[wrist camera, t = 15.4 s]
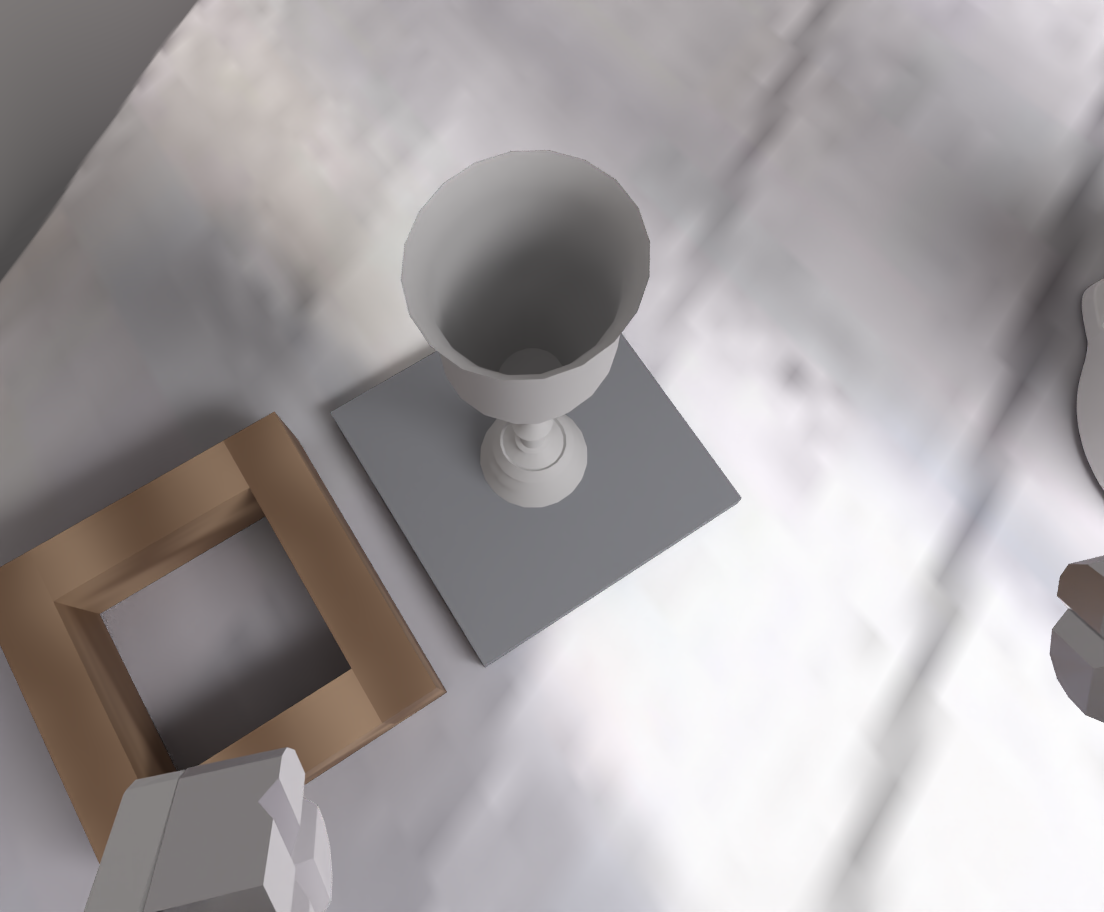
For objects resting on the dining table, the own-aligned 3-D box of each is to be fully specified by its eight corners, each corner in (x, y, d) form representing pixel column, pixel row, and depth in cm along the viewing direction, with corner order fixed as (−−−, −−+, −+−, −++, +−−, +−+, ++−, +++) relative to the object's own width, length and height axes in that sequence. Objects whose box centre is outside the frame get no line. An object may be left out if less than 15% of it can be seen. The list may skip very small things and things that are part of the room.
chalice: (506, 361, 43) (481, 114, 26) (632, 421, 42) (693, 207, 25) (432, 490, 41) (352, 315, 24) (563, 556, 40) (576, 424, 23)
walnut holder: (298, 440, 43) (274, 411, 39) (446, 692, 40) (436, 687, 36) (26, 597, 41) (-28, 583, 37) (158, 879, 37) (114, 896, 33)
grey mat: (575, 280, 46) (576, 271, 45) (737, 503, 42) (741, 498, 41) (335, 419, 43) (330, 412, 42) (485, 667, 40) (484, 665, 39)
